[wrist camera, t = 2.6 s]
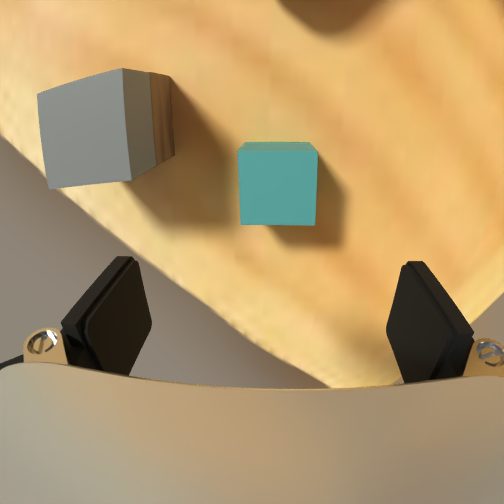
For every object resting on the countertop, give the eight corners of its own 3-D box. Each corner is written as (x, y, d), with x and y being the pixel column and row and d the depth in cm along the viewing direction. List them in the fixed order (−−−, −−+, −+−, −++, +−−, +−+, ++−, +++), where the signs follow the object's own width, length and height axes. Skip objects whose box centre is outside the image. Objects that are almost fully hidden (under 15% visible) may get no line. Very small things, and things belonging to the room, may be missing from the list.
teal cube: (309, 142, 28) (317, 151, 22) (308, 202, 30) (314, 225, 25) (245, 142, 28) (237, 151, 23) (247, 202, 31) (240, 224, 25)
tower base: (169, 76, 25) (150, 72, 21) (175, 154, 29) (157, 164, 25) (99, 90, 26) (72, 90, 22) (106, 162, 30) (80, 173, 25)
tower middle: (150, 72, 21) (122, 68, 17) (156, 165, 25) (131, 180, 20) (71, 91, 22) (37, 93, 17) (80, 173, 25) (48, 189, 21)
